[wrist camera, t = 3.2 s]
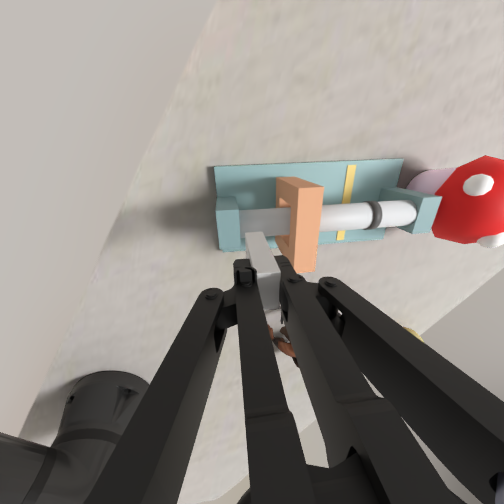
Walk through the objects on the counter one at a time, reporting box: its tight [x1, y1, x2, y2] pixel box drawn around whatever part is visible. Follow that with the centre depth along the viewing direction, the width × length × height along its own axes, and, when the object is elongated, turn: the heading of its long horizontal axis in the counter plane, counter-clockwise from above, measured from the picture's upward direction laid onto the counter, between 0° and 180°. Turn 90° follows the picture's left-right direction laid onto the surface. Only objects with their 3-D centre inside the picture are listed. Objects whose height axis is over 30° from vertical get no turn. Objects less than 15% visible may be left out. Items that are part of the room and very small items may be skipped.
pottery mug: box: [268, 325, 299, 368], centre depth 40 cm, size 12×10×8 cm
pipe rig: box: [214, 159, 442, 252], centre depth 28 cm, size 26×12×8 cm, turn 92°
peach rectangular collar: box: [275, 176, 324, 273], centre depth 25 cm, size 2×9×9 cm, turn 2°
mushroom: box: [406, 155, 504, 248], centre depth 27 cm, size 11×11×12 cm
